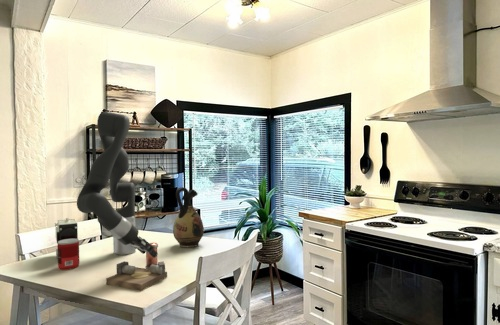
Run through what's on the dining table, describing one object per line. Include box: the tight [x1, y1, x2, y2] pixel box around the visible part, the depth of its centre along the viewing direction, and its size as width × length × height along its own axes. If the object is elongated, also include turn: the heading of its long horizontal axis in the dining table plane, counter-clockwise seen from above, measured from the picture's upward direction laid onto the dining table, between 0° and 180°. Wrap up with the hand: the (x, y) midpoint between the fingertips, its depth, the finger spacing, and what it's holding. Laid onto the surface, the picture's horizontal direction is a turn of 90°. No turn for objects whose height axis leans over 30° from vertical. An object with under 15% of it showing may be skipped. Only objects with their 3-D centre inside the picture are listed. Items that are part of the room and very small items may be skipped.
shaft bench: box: [105, 260, 168, 291], centre depth 127 cm, size 17×14×6 cm
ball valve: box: [54, 217, 79, 258], centre depth 159 cm, size 18×8×18 cm, turn 31°
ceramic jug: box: [172, 186, 205, 248], centre depth 176 cm, size 17×15×30 cm
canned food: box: [56, 238, 80, 271], centre depth 144 cm, size 8×8×11 cm
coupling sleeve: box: [145, 242, 159, 269], centre depth 141 cm, size 5×5×10 cm
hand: (150, 253), depth 140 cm, fingers open, 8 cm apart
